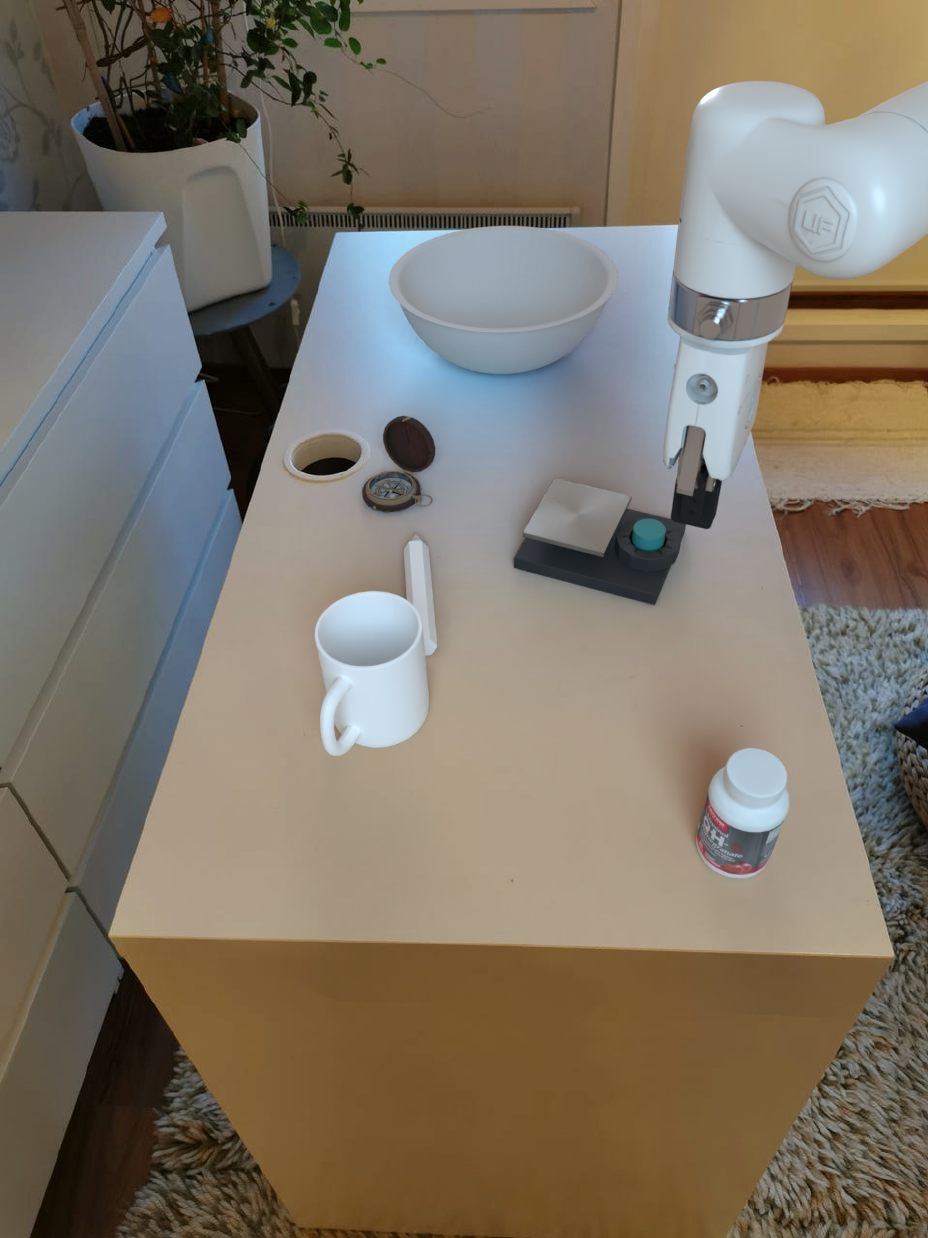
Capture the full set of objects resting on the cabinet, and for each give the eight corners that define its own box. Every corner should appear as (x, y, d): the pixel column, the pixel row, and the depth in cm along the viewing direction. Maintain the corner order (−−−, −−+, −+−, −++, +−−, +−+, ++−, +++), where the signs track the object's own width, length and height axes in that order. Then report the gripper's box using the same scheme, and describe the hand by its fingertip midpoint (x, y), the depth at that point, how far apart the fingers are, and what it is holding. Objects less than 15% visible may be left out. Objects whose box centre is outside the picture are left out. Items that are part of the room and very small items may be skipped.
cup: (446, 691, 81) (440, 607, 74) (380, 800, 74) (366, 719, 67) (362, 663, 84) (348, 579, 77) (289, 765, 77) (266, 683, 69)
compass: (351, 503, 100) (342, 446, 95) (392, 463, 104) (386, 406, 99) (415, 527, 97) (410, 469, 92) (455, 484, 101) (452, 427, 96)
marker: (417, 543, 96) (428, 659, 85) (398, 537, 95) (406, 653, 84) (429, 525, 95) (441, 640, 83) (410, 518, 94) (419, 634, 82)
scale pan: (631, 500, 93) (632, 495, 93) (603, 557, 88) (604, 552, 87) (554, 482, 96) (554, 477, 95) (522, 537, 90) (522, 532, 90)
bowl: (623, 407, 111) (631, 328, 103) (389, 413, 111) (381, 335, 104) (600, 295, 130) (605, 222, 123) (401, 301, 130) (394, 228, 123)
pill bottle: (682, 858, 70) (702, 781, 63) (712, 805, 73) (733, 726, 66) (753, 894, 67) (782, 819, 60) (780, 838, 70) (810, 760, 63)
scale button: (667, 535, 91) (669, 522, 90) (659, 554, 89) (661, 542, 88) (637, 527, 92) (638, 515, 90) (628, 546, 90) (629, 534, 89)
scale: (689, 534, 95) (693, 510, 93) (659, 606, 88) (663, 583, 86) (551, 501, 99) (552, 478, 97) (513, 568, 92) (513, 544, 90)
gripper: (761, 366, 56) (716, 592, 69) (808, 260, 66) (761, 476, 79) (638, 344, 58) (617, 566, 71) (700, 245, 68) (672, 457, 81)
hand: (692, 518), depth 75 cm, fingers closed
